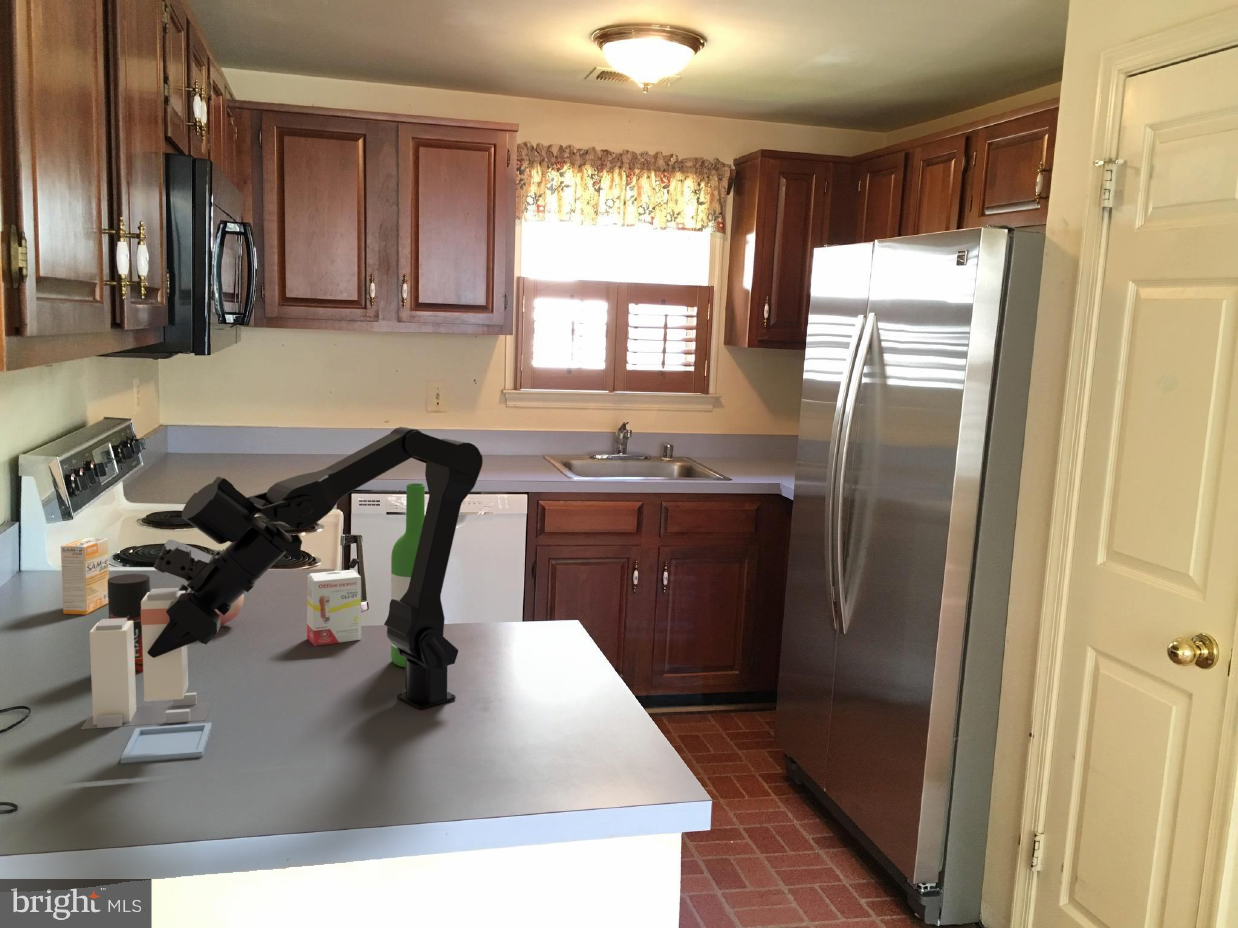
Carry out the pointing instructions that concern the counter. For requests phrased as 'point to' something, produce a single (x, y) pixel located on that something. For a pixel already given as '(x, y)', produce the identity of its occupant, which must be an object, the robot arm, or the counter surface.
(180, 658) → the block
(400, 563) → the wine bottle
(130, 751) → the tray
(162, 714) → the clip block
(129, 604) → the deodorant
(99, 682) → the block
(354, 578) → the ink box
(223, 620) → the decorative fruit
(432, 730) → the counter surface
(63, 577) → the supplement box
